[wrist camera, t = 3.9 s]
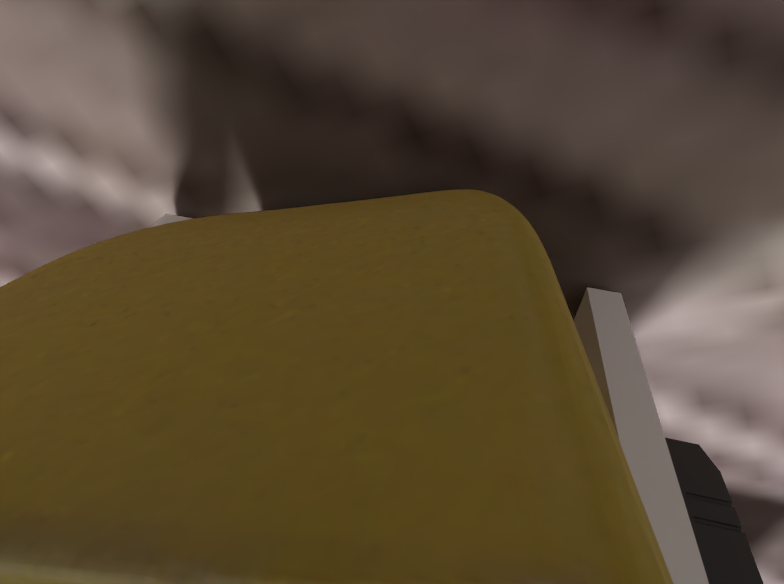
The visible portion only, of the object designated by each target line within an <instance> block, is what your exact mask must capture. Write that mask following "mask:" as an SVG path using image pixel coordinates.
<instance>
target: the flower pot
mask: <svg viewBox="0 0 784 584" xmlns="http://www.w3.org/2000/svg"><path fill="white" fill-rule="evenodd" d="M0 584H673V581H672V579H671V576H670V573H669V571H668V568H667V566H666V563H665V560H664V558H663V555H662V552H661V550H660V547H659V545H658V542H657V539H656V537H655V534H654V532H653V529H652V526H651V524H650V521H649V518H648V516H647V513H646V511H645V508H644V505H643V503H642V500H641V498H640V495H639V492H638V490H637V487H636V484H635V482H634V479H633V477H632V474H631V471H630V469H629V466H628V463H627V461H626V458H625V455H624V452H623V450H622V447H621V444H620V441H619V439H618V436H617V433H616V430H615V428H614V425H613V422H612V419H611V417H610V414H609V411H608V409H607V406H606V404H605V401H604V399H603V396H602V393H601V391H600V388H599V386H598V383H597V380H596V378H595V375H594V373H593V370H592V367H591V365H590V362H589V360H588V357H587V354H586V352H585V349H584V347H583V344H582V341H581V339H580V336H579V334H578V331H577V329H576V326H575V323H574V321H573V318H572V316H571V313H570V311H569V308H568V306H567V303H566V300H565V298H564V295H563V293H562V290H561V288H560V285H559V282H558V280H557V277H556V275H555V272H554V269H553V267H552V264H551V262H550V259H549V257H548V255H547V253H546V251H545V249H544V246H543V245H542V243H541V241H540V239H539V237H538V235H537V234H536V232H535V230H534V229H533V227H532V226H531V224H530V223H529V221H528V220H527V219H526V218H525V217H524V216H523V215H522V214H521V212H520V211H518V210H517V209H516V208H515V207H514V206H513V205H511V204H510V203H508V202H507V201H505V200H504V199H502V198H500V197H498V196H496V195H494V194H491V193H488V192H484V191H480V190H472V189H466V190H444V191H435V192H426V193H417V194H409V195H401V196H392V197H384V198H376V199H368V200H359V201H350V202H340V203H331V204H322V205H314V206H305V207H296V208H287V209H277V210H267V211H257V212H246V213H236V214H226V215H216V216H208V217H201V218H195V219H188V220H183V221H178V222H172V223H167V224H163V225H158V226H154V227H150V228H145V229H141V230H138V231H135V232H131V233H128V234H124V235H121V236H117V237H114V238H111V239H108V240H105V241H102V242H99V243H96V244H93V245H91V246H88V247H85V248H83V249H80V250H78V251H75V252H73V253H70V254H68V255H66V256H63V257H61V258H59V259H57V260H54V261H52V262H50V263H48V264H46V265H43V266H41V267H39V268H37V269H35V270H33V271H31V272H29V273H27V274H25V275H23V276H21V277H19V278H17V279H15V280H13V281H12V282H10V283H8V284H6V285H4V286H2V287H0Z"/></svg>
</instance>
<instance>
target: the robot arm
mask: <svg viewBox="0 0 784 584" xmlns="http://www.w3.org/2000/svg"><path fill="white" fill-rule="evenodd" d="M188 219H193V218H188V217H182V216H176V215H170V214H166V215H164V216H163V217H162V218H161V219H159V220H158V221H157V222H156V223H154V224H153V225H152V226H151V227H154V226H158V225H163V224H167V223H172V222H178V221H183V220H188ZM574 323H575V326H576V329H577V331H578V334H579V336H580V339H581V341H582V344H583V347H584V349H585V352H586V354H587V357H588V360H589V362H590V365H591V367H592V370H593V373H594V375H595V378H596V380H597V383H598V386H599V388H600V391H601V393H602V396H603V399H604V401H605V404H606V406H607V409H608V411H609V414H610V417H611V419H612V422H613V425H614V428H615V430H616V433H617V436H618V439H619V441H620V444H621V447H622V450H623V452H624V455H625V458H626V461H627V463H628V466H629V469H630V471H631V474H632V477H633V479H634V482H635V484H636V487H637V490H638V492H639V495H640V498H641V500H642V503H643V505H644V508H645V511H646V513H647V516H648V518H649V521H650V524H651V526H652V529H653V532H654V534H655V537H656V539H657V542H658V545H659V547H660V550H661V552H662V555H663V558H664V560H665V563H666V566H667V568H668V571H669V573H670V576H671V579H672V581H673V584H763V581H762V579H761V576H760V573H759V571H758V568H757V566H756V563H755V561H754V558H753V555H752V553H751V550H750V548H749V545H748V542H747V540H746V537H745V535H744V533H742V532H741V524H740V522H739V519H738V516H737V514H736V511H735V509H734V508H732V507H731V503H732V501H731V498H730V496H729V493H728V491H727V488H726V485H725V483H724V480H723V478H722V475H721V472H720V471H719V470H718V469H717V467H716V466H715V465H714V463H713V462H712V461H711V460H710V458H709V457H708V456H707V455H706V453H705V452H704V451H703V450H702V448H701V447H700V446H699V445H698V444H693V443H688V442H683V441H678V440H673V439H668V438H665V436H664V433H663V430H662V426H661V423H660V420H659V416H658V413H657V410H656V407H655V403H654V400H653V397H652V393H651V390H650V387H649V383H648V380H647V377H646V373H645V370H644V367H643V364H642V360H641V357H640V354H639V350H638V347H637V344H636V340H635V337H634V334H633V330H632V327H631V324H630V321H629V317H628V314H627V311H626V307H625V304H624V301H623V297H622V294H621V293H617V292H611V291H605V290H600V289H594V288H588V287H587V289H586V291H585V294H584V296H583V299H582V301H581V303H580V306H579V308H578V311H577V313H576V316H575V318H574Z"/></svg>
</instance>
